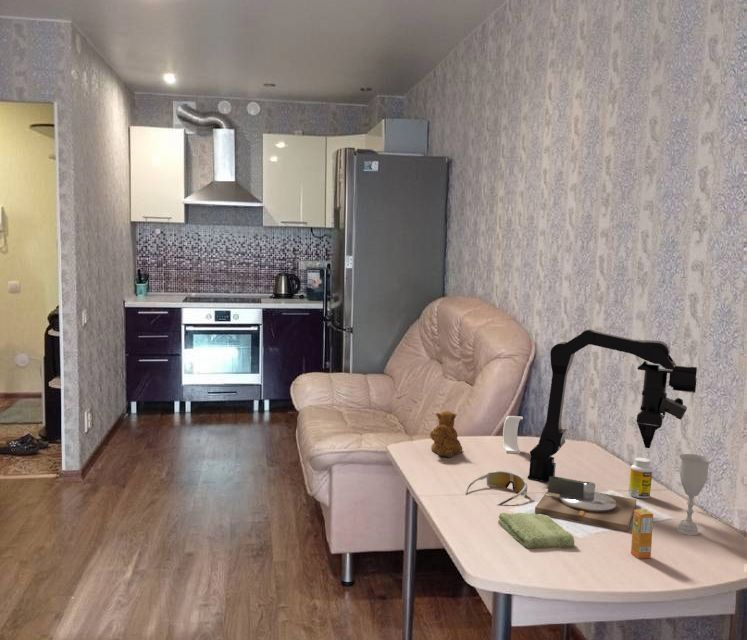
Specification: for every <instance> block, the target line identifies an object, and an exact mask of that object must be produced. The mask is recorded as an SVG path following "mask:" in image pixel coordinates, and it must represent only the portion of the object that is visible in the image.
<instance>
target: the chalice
mask: <svg viewBox="0 0 747 640" xmlns="http://www.w3.org/2000/svg"><path fill="white" fill-rule="evenodd" d="M679 458H680V461H681V462H680V471H679V472H680V473H679V477H680V481H681V485H682V487H683V491H684V493H685V495H687V496H688V502H687V503H686V504H687V509H686V510H685V512H686V513H687V516H686V518H685V519H682V520H680V523H679V524H678V526H677V528H676V531H677V532H679V533H682V534H684V535H689V536H698V535H699V534H700V532H699V530H698V529H699V528H698V527H697V523H696V522H695V521H694V520H693V519H692V515H693V514H694V510H693V507H694V506H695V503H694V498H695V497H697V496H699V495H700V493H701V491H702V490H703V489H704V487H705V485H706V483H707V480H708V474H709V467H710V466H709V465H710V463H711V462H712V459H711V458H710V457H707V456H703V455H698V454H694V453H683V454H680V455H679Z"/></svg>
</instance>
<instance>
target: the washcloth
mask: <svg viewBox="0 0 747 640" xmlns="http://www.w3.org/2000/svg"><path fill="white" fill-rule="evenodd" d="M498 518H499V519H498V521H497V523H498V525H500V527H502V528H503V529H504V530H505V531H506V532H507V533H508V534H509V535H510V536H512V537H513V538H514V540H515V541H517V542H518V543H519V544H521V545H522V546H523V547H524V548H528V549H529V548H531V549H534V548H541V549H545V548H574V546H575V542H576V541H575V538H574V535H573V534H572V533H571V532H570V531H567V530H566V529H565V528H563V526H561V525H560V524H558V523H557V522H555V520H553V518H551V516H547V515H542V514H537V513H528V512H516V513H508V512H501V513H499V515H498Z"/></svg>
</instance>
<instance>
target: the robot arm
mask: <svg viewBox="0 0 747 640" xmlns="http://www.w3.org/2000/svg"><path fill="white" fill-rule="evenodd" d="M589 345H590V346H597V347H600V348H605V349H609V350H612V351H613V350H614V351H618V352H622V353H627V354H631V355H634V356H636V357H638V358H640V359H642V360H644V361H643V363H642V364H640V365H638V366H637V370H638V371H644V375H643V385H642V386H643V387H642V391H641V397H642V398H641V405H640V411H639V412H638V413H637V415H636V424H637V427H638V429H639V432H640V436H641V439H642V441H643V446H644V447H645V448H646V449H650V448H651V445H652V442H653V441H654V440H653V439H654V438H655V434H656V431H657V430H658V429H660V428H661V427H662V426H663V420H664V419H665V417H666V414H670V415H671V416H673V417H675V418H676V419H677V420H683V418H684V415H685V414H686V412H687V410H688V407H687V406H686V405H684V400H683V399H682V398H679V397H677V398H675V399H672V398H669V397H667V396H668V393H667V381H668V386H669V387H670V388H672V391H676V392H685V393H694V394H696V392H697V391H696V388H697V383H698V382H697V380H698V378H697V373H698V372H697V371H698V367H697V366H685V365H684V366H683V365H677V364H676V363H675V360H673V358H672V357H671V355H670V354H671V350H670V346H668V343H666V342H665V341H661V340H652V339H651V340H648V339H643V340H642V339H632V338H627V337H624V336H619V335H613V334H609V333H604V332H599V331H597V330H596V331H595V330H593V329H591V328H589V329H585V330H584V331H582V332H581V333H580V334H579V335H577V336H575V337H574V338H572V339H570V340H568V341H561V342H558V343H557V344H555V345H553V347H551V349H550V354H549V355H550V357H549V358H550V367H551V383H550V391H549V399H548V405H547V414H546V421H545V424H544V427H543V429H542V431H541V434H540V437H539V440H538V444H536V445H535V446H534V447H533V448H532V449H531V450H530V451H529V455H530V461H529V470H528V471H529V472H528V475H527V476H526V477H527V479H530V480H535V481H541V482H545V483H546V482H547V483H549V477H550V476H555V477H556V465H557V464H556V462H555V457H554V455H555V454H556V453H558V452H559V450H561V448H562V447H563V446H564V445H565V443H566V438H565V437H566V433H567V429H566V428H562V427H563V426H562V416H563V409H564V401H565V393H566V387H567V386H566V385H567V381H568V380H567V379H568V374H569V371H570V369H571V366H572V363H573V362H574V361H573V360H574V359H575V358H574V357H575V355H576V353H577V352H579V351H580V350H582V349H583V348H585V347H587V346H589ZM648 362H649V363H648ZM660 366H661V367H662V368H660ZM668 374H669V380H667V379H668Z"/></svg>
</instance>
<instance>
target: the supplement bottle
mask: <svg viewBox="0 0 747 640" xmlns="http://www.w3.org/2000/svg"><path fill="white" fill-rule="evenodd" d="M653 471H654V470H653V468H652V467H651V460H650V459H649V458H646V457H645V458H644V457H635V459H634V464H632V465H631V466H630V475H629V477H630V478H629V485H628V487H629V488H628V494H629V496H631V497H633V498H637V499H643V500H644V499H645V500H646V499H648V498H649V497H650V496H651V489H652V479H653Z"/></svg>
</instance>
